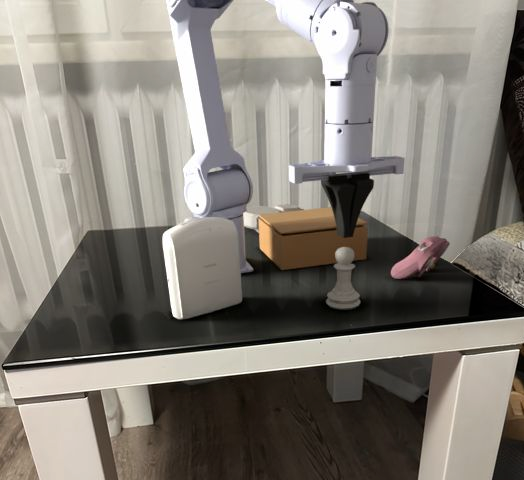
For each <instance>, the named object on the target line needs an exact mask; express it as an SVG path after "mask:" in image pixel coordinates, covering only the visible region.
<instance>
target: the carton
mask: <svg viewBox="0 0 524 480" xmlns="http://www.w3.org/2000/svg"><path fill="white" fill-rule="evenodd" d="M368 223H369V222H368V221H365V220H363V218H360V217H358V220H357V223H356V227H355V231H354V235H353V237H348V238H342V237H341V236H339V235H338V234H337V228H336V222H335V218H334V216H330V217H321V218H312V219H303V220H293V221H284V222H275V223H269V224H267V223H266V222H265V221H264V220H263V219H262V218H260V219H259V233H258V237H259V238H258V239H259V250H261V252H263V254H265V256H267V257H268V258H269V259H270V260H271V261H272V262H273V263H274V264H275V265H276V266H277V267H278V268H279V269H280V270H281V271H285V270H293V269H301V268H309V267H316V266H324V265H333V264H337V263H338V262H337V261H336V258H335V253H336V251H337V249H339V248H341V247H349V248H351V249H352V250H353V251H354V259H353V261H352V262H354V261H361V260H362V261H363V260H367V253H368V252H367V251H368V230H369V227H368V226H367V225H368Z"/></svg>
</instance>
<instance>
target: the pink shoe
mask: <svg viewBox="0 0 524 480" xmlns="http://www.w3.org/2000/svg"><path fill="white" fill-rule="evenodd" d="M450 244H451V242H450V241H448V240H447V239H446V237H445V238H444V237H440V236H439V235H438V234H436V235H435V236H434V235H433V236H428V237H424V238H423V239H422V240H421V242H420V244H419V245H418V246H417V247H416V248H415V249H413V251H412V252H411V253H410V254H409V255H408V256H406V257H404V258H403V259H402V260H399V261H398V262H397V263H395V264H394V265H393V266H392V267H391V269H390V275H391V277H392V278H394V279H395V280H404V279H407V278H410V277H412V276H413V275H415V276H416V277H417V278H421V276H422V275H423V274H424V273H425V272H429V271H430V270H431V269H434V268H435V266H436V265H435V264H436V262H437V261H439V259H441V257H442V256H443V255H444V254H445V253H446V251H447V250H448V248H449V246H450Z"/></svg>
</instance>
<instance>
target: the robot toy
mask: <svg viewBox="0 0 524 480" xmlns="http://www.w3.org/2000/svg"><path fill="white" fill-rule="evenodd" d="M246 209H247V211H246V212H244V213H243V216H244V228H247V229H250V230H254V231H256V232H257V233H258V234H259V219H260V217H259V215H261V214H270V213H280V212H289V211H299V210H305V208H301V207H299V206H298V205H295V204H288V203H287V204H278V205H275V206H274V207H270V206H266V205H258V204H255V205H246Z"/></svg>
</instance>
